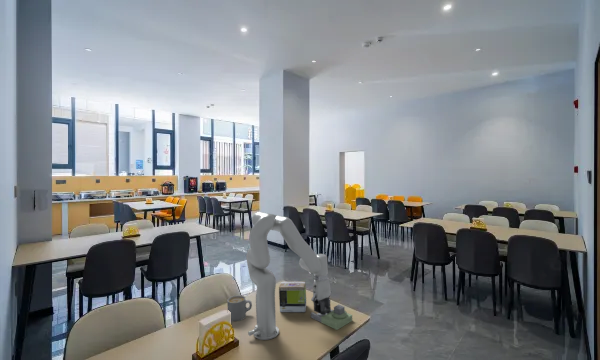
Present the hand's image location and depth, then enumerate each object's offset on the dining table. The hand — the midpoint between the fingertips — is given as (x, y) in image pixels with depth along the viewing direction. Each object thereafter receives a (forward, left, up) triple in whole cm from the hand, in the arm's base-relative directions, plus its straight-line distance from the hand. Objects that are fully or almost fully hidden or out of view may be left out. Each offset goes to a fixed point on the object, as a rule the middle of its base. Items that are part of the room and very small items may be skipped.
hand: (322, 308), depth 156 cm
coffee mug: (-32, +34, -4) cm, 47 cm away
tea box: (-5, +19, -4) cm, 20 cm away
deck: (+1, -6, -4) cm, 7 cm away
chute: (0, 0, -1) cm, 1 cm away
